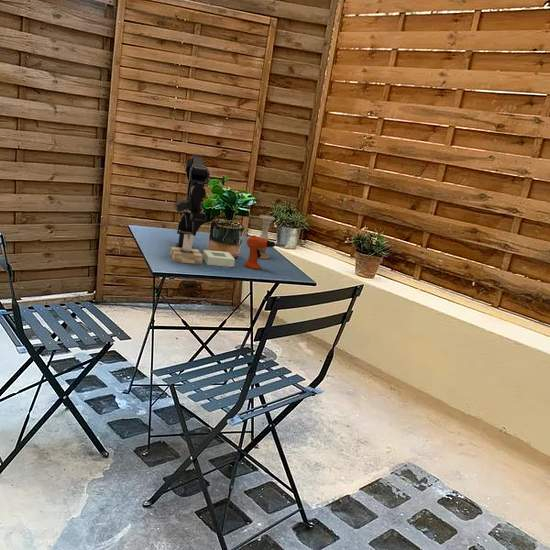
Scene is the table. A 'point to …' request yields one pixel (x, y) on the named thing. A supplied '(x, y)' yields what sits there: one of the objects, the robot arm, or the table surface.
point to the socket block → (186, 256)
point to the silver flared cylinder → (187, 243)
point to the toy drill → (254, 245)
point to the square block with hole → (218, 258)
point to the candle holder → (265, 234)
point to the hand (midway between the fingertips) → (190, 231)
